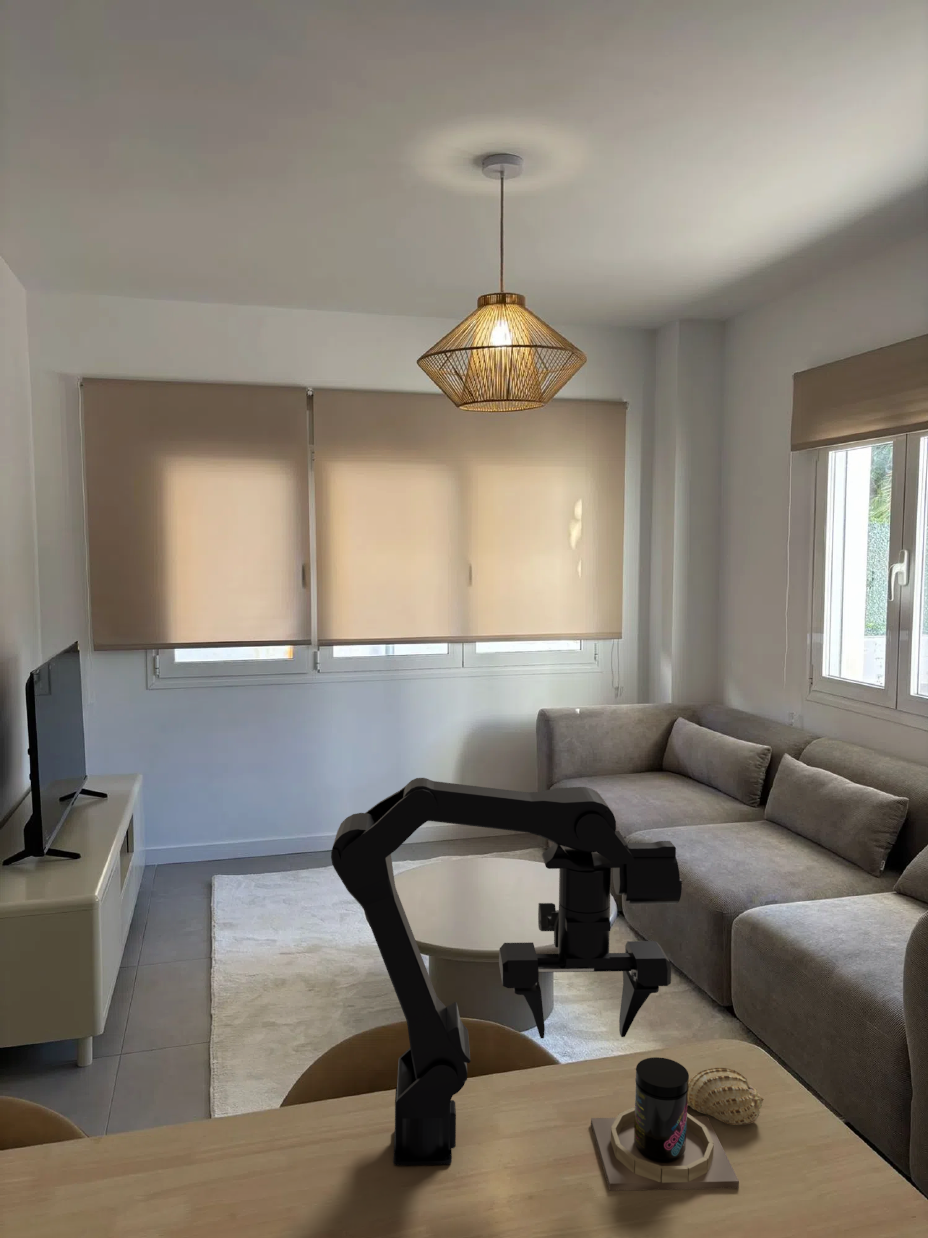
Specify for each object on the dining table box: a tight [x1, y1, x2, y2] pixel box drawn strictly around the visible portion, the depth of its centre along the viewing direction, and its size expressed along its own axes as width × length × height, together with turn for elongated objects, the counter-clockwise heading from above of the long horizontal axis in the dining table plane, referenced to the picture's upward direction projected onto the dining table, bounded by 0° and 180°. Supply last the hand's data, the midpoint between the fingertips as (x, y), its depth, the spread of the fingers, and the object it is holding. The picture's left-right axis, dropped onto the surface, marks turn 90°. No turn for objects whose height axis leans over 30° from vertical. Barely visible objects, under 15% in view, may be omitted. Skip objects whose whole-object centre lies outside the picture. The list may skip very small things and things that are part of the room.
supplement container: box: [634, 1056, 690, 1163], centre depth 102 cm, size 6×6×9 cm
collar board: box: [590, 1106, 740, 1192], centre depth 103 cm, size 14×11×2 cm
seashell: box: [687, 1067, 764, 1126], centre depth 111 cm, size 8×6×10 cm
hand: (581, 1036), depth 103 cm, fingers open, 9 cm apart
